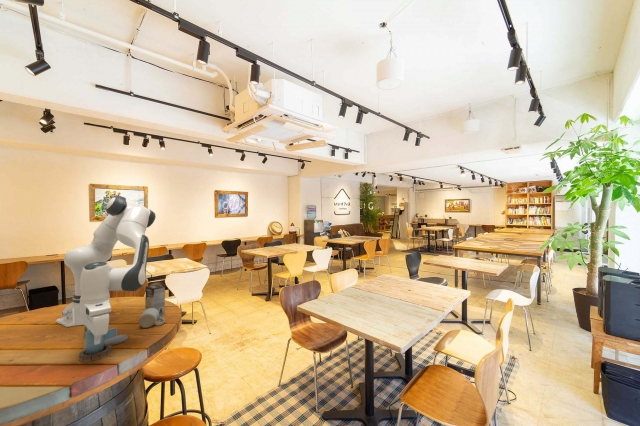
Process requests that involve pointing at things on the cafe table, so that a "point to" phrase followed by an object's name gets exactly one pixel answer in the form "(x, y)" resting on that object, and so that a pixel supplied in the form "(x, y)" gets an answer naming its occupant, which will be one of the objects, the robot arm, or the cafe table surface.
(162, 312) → the coffee box
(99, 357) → the ring holder
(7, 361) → the cafe table surface
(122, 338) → the coaster
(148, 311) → the ceramic mug
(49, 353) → the cafe table surface
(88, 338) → the blue pot
